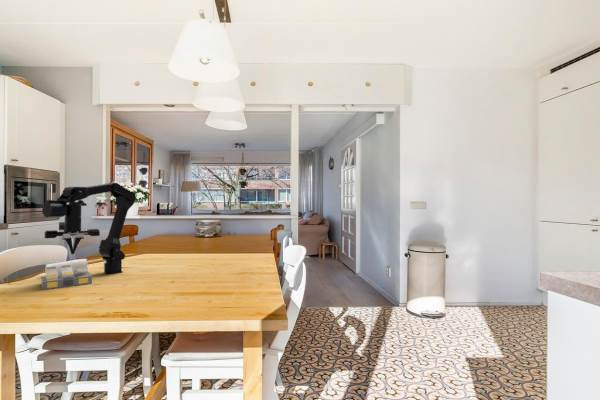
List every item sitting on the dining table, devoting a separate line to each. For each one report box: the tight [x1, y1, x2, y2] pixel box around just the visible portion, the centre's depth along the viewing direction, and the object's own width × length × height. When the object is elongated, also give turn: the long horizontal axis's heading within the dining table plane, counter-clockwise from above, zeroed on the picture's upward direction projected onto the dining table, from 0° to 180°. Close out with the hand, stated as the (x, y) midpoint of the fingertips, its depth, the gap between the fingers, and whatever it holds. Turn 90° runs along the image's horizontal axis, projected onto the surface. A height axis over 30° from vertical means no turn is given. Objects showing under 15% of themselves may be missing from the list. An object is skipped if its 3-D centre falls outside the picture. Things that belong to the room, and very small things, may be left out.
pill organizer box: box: [40, 270, 93, 291], centre depth 136 cm, size 16×12×3 cm
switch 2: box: [60, 265, 73, 278], centre depth 136 cm, size 4×9×1 cm, turn 39°
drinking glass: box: [45, 258, 89, 274], centre depth 151 cm, size 7×7×15 cm
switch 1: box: [44, 266, 58, 280], centre depth 133 cm, size 4×9×1 cm, turn 39°
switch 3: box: [75, 267, 89, 272], centre depth 139 cm, size 4×9×1 cm, turn 39°
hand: (72, 254), depth 140 cm, fingers closed
